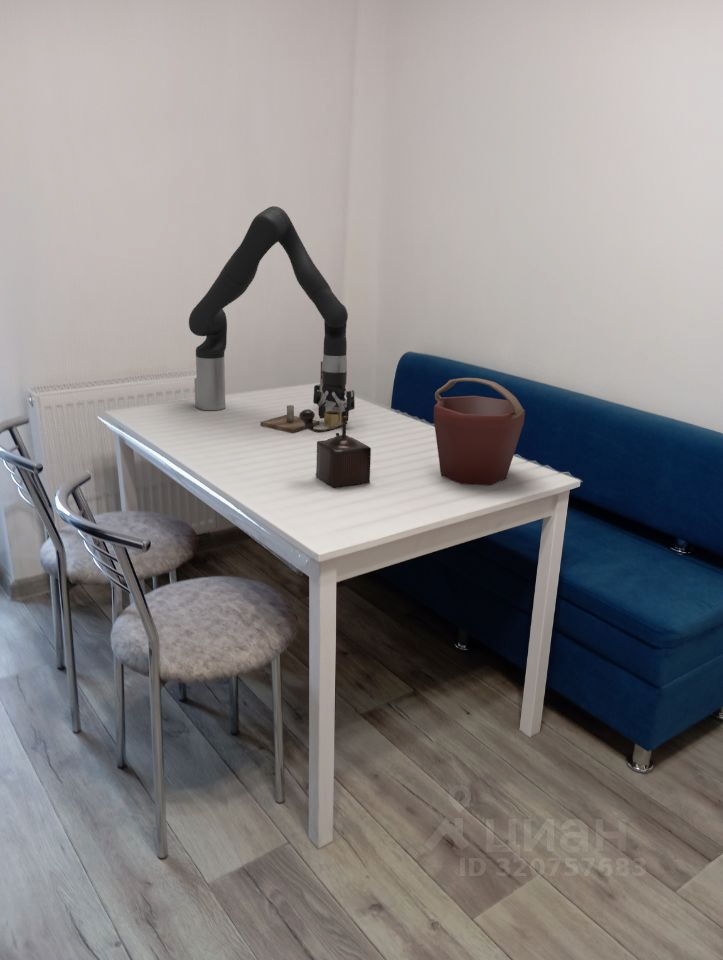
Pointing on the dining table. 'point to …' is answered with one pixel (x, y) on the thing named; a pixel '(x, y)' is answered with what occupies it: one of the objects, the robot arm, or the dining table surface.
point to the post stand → (287, 422)
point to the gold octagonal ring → (332, 418)
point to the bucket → (477, 434)
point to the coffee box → (330, 405)
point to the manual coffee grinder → (339, 456)
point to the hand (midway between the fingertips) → (333, 420)
